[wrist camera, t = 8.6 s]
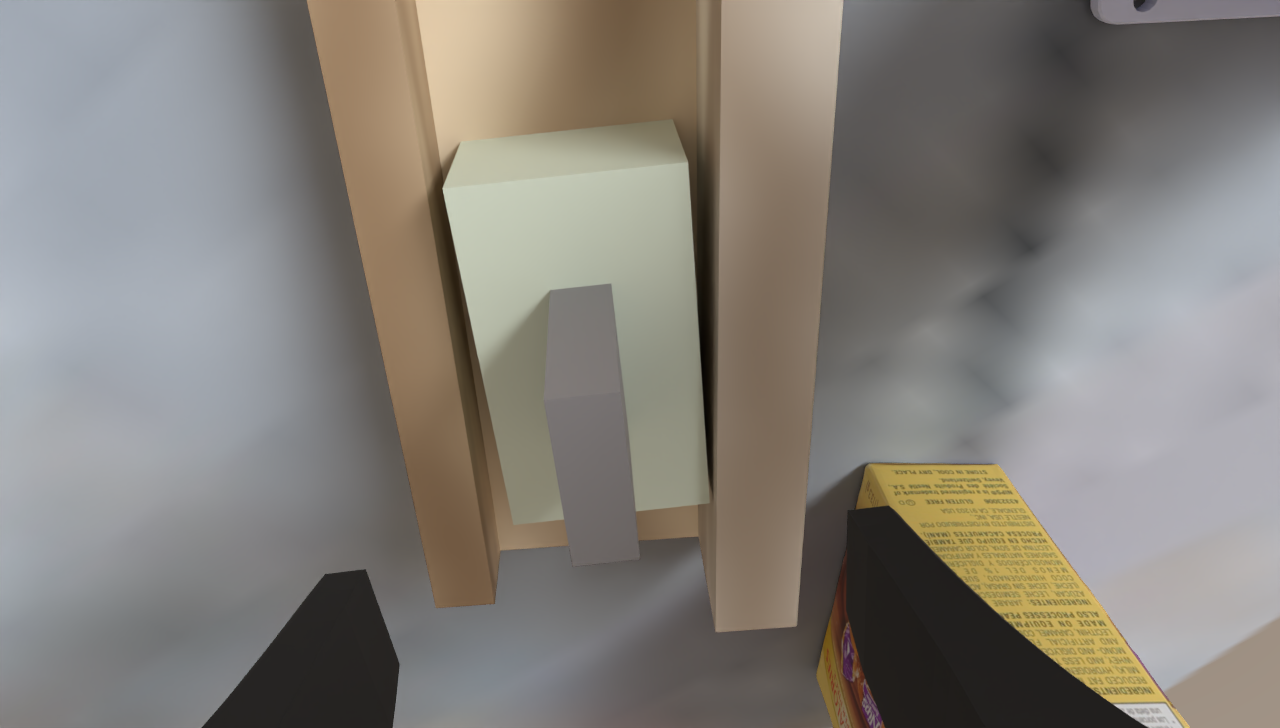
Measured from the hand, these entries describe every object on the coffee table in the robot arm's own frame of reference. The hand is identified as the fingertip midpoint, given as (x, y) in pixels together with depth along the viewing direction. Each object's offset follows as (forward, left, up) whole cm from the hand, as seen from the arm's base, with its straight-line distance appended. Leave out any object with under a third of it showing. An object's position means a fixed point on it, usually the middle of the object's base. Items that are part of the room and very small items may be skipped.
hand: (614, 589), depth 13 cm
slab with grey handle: (0, 0, -9) cm, 9 cm away
